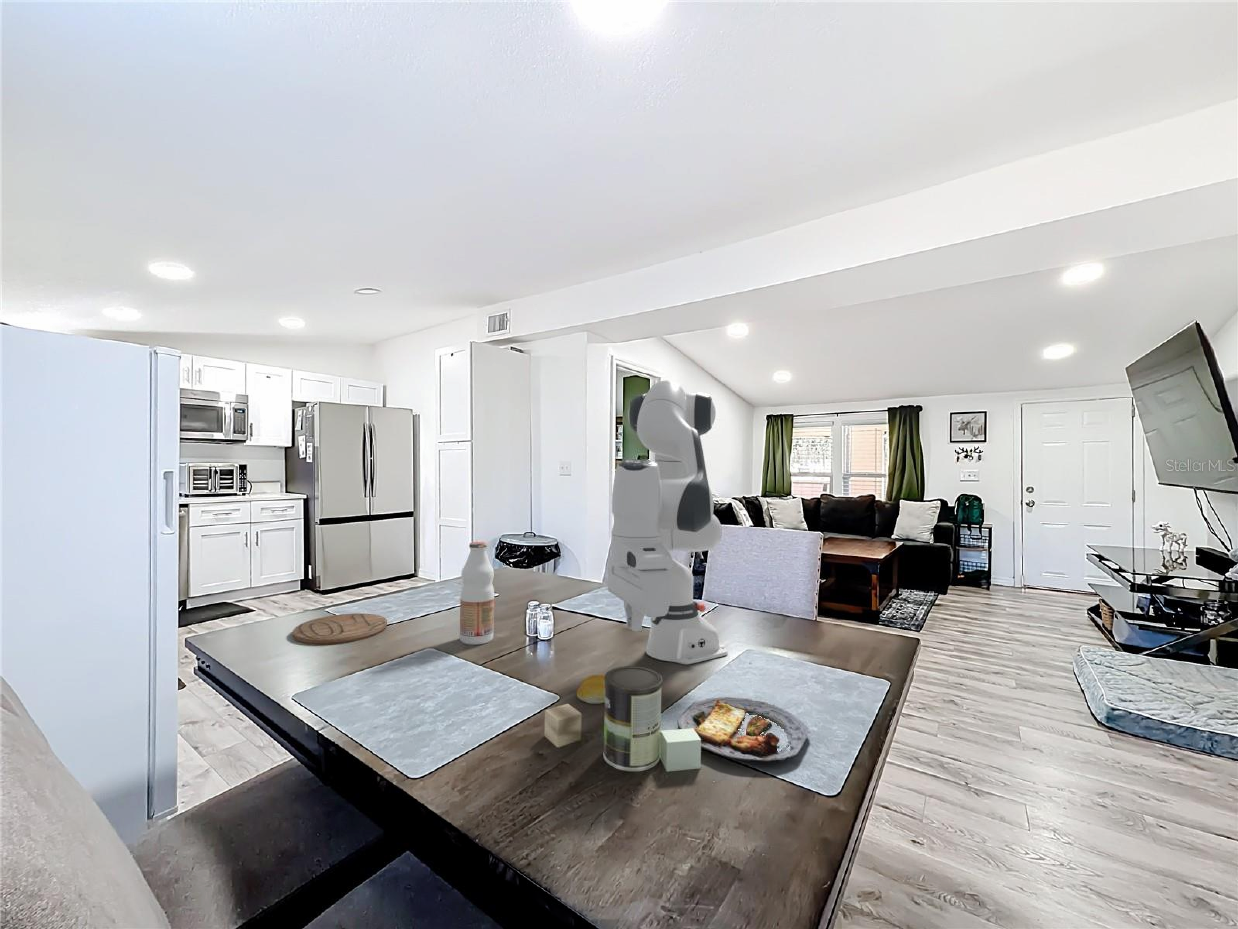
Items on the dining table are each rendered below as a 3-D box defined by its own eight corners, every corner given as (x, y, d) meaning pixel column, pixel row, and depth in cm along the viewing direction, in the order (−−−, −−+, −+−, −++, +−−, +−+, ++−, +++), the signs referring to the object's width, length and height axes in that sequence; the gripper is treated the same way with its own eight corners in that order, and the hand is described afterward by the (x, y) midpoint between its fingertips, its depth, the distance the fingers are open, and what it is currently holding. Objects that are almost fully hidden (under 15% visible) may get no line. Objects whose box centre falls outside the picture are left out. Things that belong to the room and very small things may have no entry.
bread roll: (573, 704, 116) (573, 685, 116) (583, 686, 125) (583, 669, 125) (611, 707, 115) (611, 688, 115) (618, 689, 124) (618, 672, 124)
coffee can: (599, 770, 91) (601, 687, 91) (606, 739, 101) (607, 664, 101) (660, 774, 90) (662, 690, 90) (661, 742, 100) (662, 667, 100)
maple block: (567, 729, 105) (567, 703, 105) (581, 740, 101) (581, 713, 101) (544, 736, 102) (544, 710, 102) (557, 748, 98) (558, 720, 98)
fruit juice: (458, 646, 150) (460, 545, 149) (460, 635, 159) (462, 540, 159) (493, 644, 152) (494, 545, 151) (493, 633, 161) (495, 540, 161)
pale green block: (692, 756, 96) (693, 728, 96) (700, 768, 92) (701, 739, 92) (660, 759, 95) (660, 731, 95) (666, 772, 91) (667, 742, 91)
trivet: (371, 614, 179) (371, 609, 179) (399, 633, 161) (399, 627, 161) (284, 629, 162) (284, 623, 162) (304, 652, 144) (304, 645, 144)
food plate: (785, 786, 87) (785, 764, 87) (658, 745, 100) (658, 726, 100) (818, 727, 109) (818, 710, 109) (710, 700, 121) (710, 684, 121)
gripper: (599, 543, 104) (598, 615, 104) (642, 561, 85) (640, 649, 85) (629, 542, 106) (628, 612, 106) (677, 559, 87) (676, 645, 87)
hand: (634, 629), depth 96 cm, fingers closed
